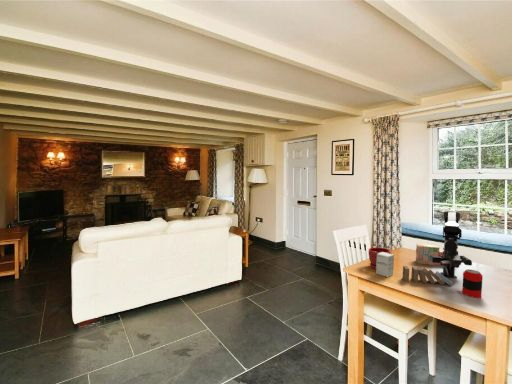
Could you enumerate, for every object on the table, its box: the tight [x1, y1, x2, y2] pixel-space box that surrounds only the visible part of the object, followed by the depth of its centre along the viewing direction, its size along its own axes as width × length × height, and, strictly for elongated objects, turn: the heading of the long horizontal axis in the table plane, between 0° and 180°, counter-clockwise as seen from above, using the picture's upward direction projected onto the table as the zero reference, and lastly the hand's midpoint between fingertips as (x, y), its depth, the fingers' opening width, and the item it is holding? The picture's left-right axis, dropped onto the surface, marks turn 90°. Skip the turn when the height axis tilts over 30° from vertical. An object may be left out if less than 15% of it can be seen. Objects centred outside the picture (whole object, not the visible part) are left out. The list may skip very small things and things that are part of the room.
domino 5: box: [428, 269, 445, 286], centre depth 149 cm, size 5×2×8 cm
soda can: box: [461, 269, 483, 299], centre depth 134 cm, size 8×8×12 cm
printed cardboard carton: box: [415, 243, 444, 267], centre depth 181 cm, size 21×6×12 cm, turn 69°
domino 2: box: [410, 266, 419, 283], centre depth 152 cm, size 5×2×8 cm, turn 165°
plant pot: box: [368, 247, 392, 270], centre depth 173 cm, size 13×13×12 cm
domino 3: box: [416, 266, 428, 284], centre depth 151 cm, size 5×2×8 cm, turn 166°
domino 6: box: [434, 270, 454, 286], centre depth 148 cm, size 5×2×8 cm
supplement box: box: [375, 252, 395, 278], centre depth 161 cm, size 7×7×13 cm
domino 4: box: [422, 267, 436, 285], centre depth 150 cm, size 5×2×8 cm
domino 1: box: [402, 265, 410, 283], centre depth 153 cm, size 5×2×8 cm, turn 165°
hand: (448, 275), depth 147 cm, fingers closed
